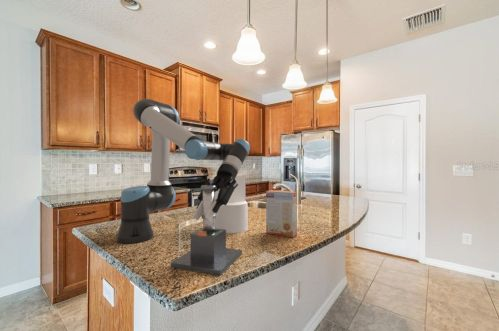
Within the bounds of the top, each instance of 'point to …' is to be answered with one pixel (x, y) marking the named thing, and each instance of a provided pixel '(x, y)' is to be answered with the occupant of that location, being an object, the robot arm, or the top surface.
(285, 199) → the cracker box
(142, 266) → the top surface
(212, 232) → the silver mushroom-headed rod
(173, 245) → the top surface
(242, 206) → the cylinder
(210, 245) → the square socket stand
